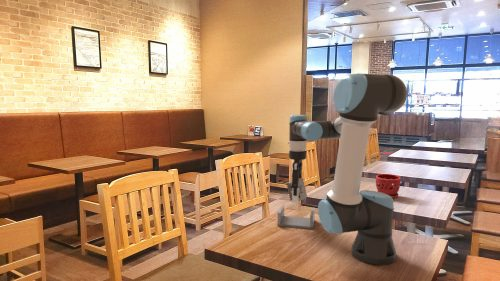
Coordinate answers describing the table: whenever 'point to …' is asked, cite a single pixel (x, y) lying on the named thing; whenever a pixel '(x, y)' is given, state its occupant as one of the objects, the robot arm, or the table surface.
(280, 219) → the housing
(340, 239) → the table surface
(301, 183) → the electrical switch
